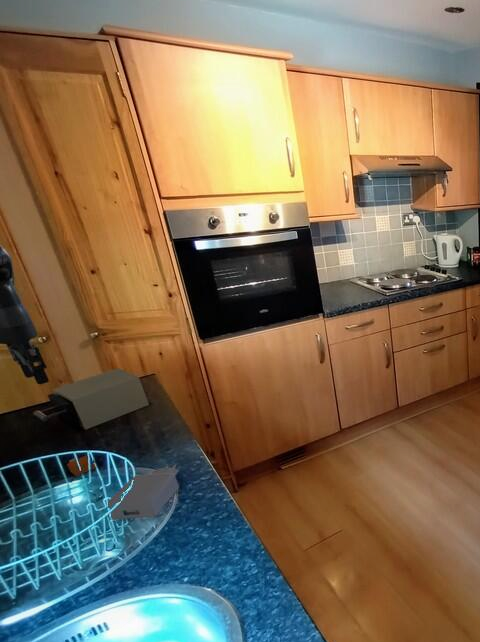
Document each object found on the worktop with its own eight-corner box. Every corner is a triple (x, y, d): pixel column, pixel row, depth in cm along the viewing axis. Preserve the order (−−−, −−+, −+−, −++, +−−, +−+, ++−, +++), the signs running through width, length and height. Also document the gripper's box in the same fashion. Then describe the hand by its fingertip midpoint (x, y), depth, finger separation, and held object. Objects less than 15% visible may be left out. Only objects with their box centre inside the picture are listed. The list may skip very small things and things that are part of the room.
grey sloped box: (85, 430, 127) (72, 400, 123) (66, 418, 133) (52, 389, 129) (149, 405, 140) (138, 377, 136) (128, 395, 145) (118, 368, 141)
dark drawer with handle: (54, 438, 122) (41, 413, 118) (36, 426, 127) (24, 402, 124) (136, 406, 137) (127, 383, 134) (118, 397, 142) (109, 374, 139)
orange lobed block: (97, 468, 112) (93, 459, 111) (77, 477, 108) (73, 468, 107) (83, 458, 115) (79, 449, 114) (63, 466, 112) (58, 458, 111)
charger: (194, 472, 110) (157, 517, 97) (154, 475, 109) (110, 520, 96) (189, 456, 108) (150, 500, 95) (148, 459, 107) (102, 503, 94)
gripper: (-21, 321, 114) (8, 379, 121) (0, 331, 108) (29, 392, 115) (19, 313, 120) (45, 368, 127) (41, 322, 114) (67, 380, 121)
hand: (37, 379), depth 121 cm, fingers open, 7 cm apart
